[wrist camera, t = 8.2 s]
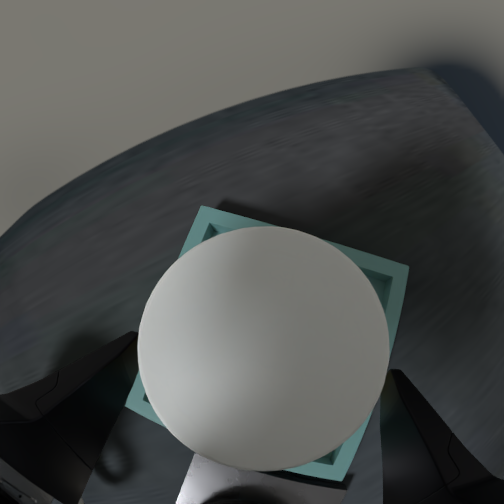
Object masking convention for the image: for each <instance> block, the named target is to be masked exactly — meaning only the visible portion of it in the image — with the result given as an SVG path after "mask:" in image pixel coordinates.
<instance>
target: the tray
mask: <svg viewBox="0 0 504 504" xmlns="http://www.w3.org/2000/svg"><path fill="white" fill-rule="evenodd" d="M263 226H274V227H279V226H275V225H272V224H268V223H265V222H261V221H258V220H254V219H250V218H247V217H243V216H239V215H236V214H232V213H228V212H225V211H221V210H217V209H213V208H209V207H206V206H202V205H201V207H200V210H199V212H198V214H197V216H196V219H195V221H194V223H193V225H192V228H191V230H190V232H189V235H188V237H187V239H186V242H185V244H184V246H183V249H182V251H181V253H180V256H179V258H180V257H181V256H183V255H184V254H185V253H186V252H188V251H189V250H190V249H192V248H193V247H195V246H197V245H198V244H200V243H202V242H204V241H206V240H208V239H210V238H212V237H215V236H217V235H219V234H222V233H226V232H230V231H233V230H237V229H241V228H248V227H263ZM319 239H320V238H319ZM321 240H323V239H321ZM323 241H325V242H327V243H329V244H330V245H332V246H334V247H335V248H337V249H338V250H340V251H341V252H342V253H343V254H345V255H346V256H347V257H348V258H350V259H351V260H352V261H353V262H354V263H355V264H356V265H357V266H358V267H359V268H360V270H361V271H362V272H363V273H364V275H365V276H366V277H367V279H368V280H369V281H370V283H371V285H372V286H373V288H374V290H375V292H376V294H377V296H378V298H379V301H380V303H381V305H382V308H383V310H384V314H385V317H386V321H387V326H388V332H389V348H390V355H391V351H392V347H393V343H394V339H395V335H396V331H397V327H398V323H399V319H400V314H401V309H402V305H403V300H404V294H405V289H406V283H407V278H408V271H409V266H407V265H404V264H401V263H397V262H394V261H391V260H388V259H385V258H382V257H379V256H376V255H372V254H369V253H366V252H363V251H360V250H356V249H353V248H350V247H347V246H343V245H340V244H337V243H333V242H330V241H327V240H323ZM179 258H178V259H179ZM390 355H389V358H390ZM125 406H126V407H128V408H129V409H131V410H133V411H135V412H137V413H138V414H140V415H142V416H144V417H146V418H148V419H150V420H152V421H154V422H156V423H158V424H160V425H162V426H164V427H166V426H165V425H164V424H163V423H162V421H161V420H160V418H159V417H158V416H157V414H156V413H155V411H154V409H153V407H152V405H151V403H150V402H149V399H148V397H147V395H146V392H145V388H144V386H143V383H142V380H141V376H140V371H138V374H137V377H136V379H135V382H134V385H133V387H132V389H131V391H130V393H129V395H128V398H127V402H126V405H125ZM372 411H373V410H372ZM372 411H371V413H372ZM371 413H370V414H369V416H368V417H367V419H366V420H365V421H364V423H363V424H362V425H361V426H360V427H359V429H358V430H357V431H356V432H355V433H354V434H353V435H352V436H351V437H350V438H348V439H347V440H346V441H345V442H344V443H342V444H341V445H340V446H339V447H338V448H336V449H335V450H333V451H331V452H330V453H328V454H326V455H325V456H323V457H321V458H319V459H317V460H314V461H312V462H310V463H307V464H305V465H301V466H298V467H294V468H290V469H284V470H286V471H291V472H295V473H299V474H304V475H309V476H314V477H319V478H325V479H330V480H337V481H342V480H343V478H344V476H345V474H346V472H347V470H348V468H349V466H350V464H351V462H352V459H353V457H354V455H355V453H356V451H357V448H358V446H359V444H360V441H361V439H362V436H363V434H364V432H365V429H366V427H367V424H368V421H369V419H370V416H371Z"/></svg>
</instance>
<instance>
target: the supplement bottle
mask: <svg viewBox="0 0 504 504" xmlns="http://www.w3.org/2000/svg"><path fill="white" fill-rule="evenodd" d="M137 346H138V364H139V371H140V376H141V380H142V383H143V386H144V388H145V392H146V395H147V397H148V399H149V402H150V403H151V405H152V407H153V409H154V411H155V413H156V414H157V416H158V417H159V418H160V420H161V421H162V423H163V424H164V425H165V426H166V428H167V429H168V430H169V431H170V432H171V433H172V434H173V435H174V436H175V437H176V438H177V439H178V440H179V441H180V442H182V443H183V444H184V445H186V446H187V447H188V448H190V449H191V450H193V451H194V452H196V453H197V454H199V455H201V456H203V457H205V458H207V459H209V460H211V461H213V462H216V463H219V464H222V465H225V466H228V467H232V468H236V469H240V470H247V471H277V470H284V469H290V468H294V467H298V466H301V465H305V464H307V463H310V462H312V461H314V460H317V459H319V458H321V457H323V456H325V455H326V454H328V453H330V452H331V451H333V450H335V449H336V448H338V447H339V446H340V445H341V444H342V443H344V442H345V441H346V440H347V439H348V438H350V437H351V436H352V435H353V434H354V433H355V432H356V431H357V430H358V429H359V427H360V426H361V425H362V424H363V423H364V421H365V420H366V419H367V417H368V416H369V414H370V413H371V411H372V410H373V408H374V406H375V404H376V402H377V400H378V398H379V396H380V394H381V391H382V388H383V386H384V383H385V378H386V372H387V368H388V364H389V355H390V348H389V332H388V326H387V321H386V317H385V314H384V310H383V308H382V305H381V303H380V301H379V298H378V296H377V294H376V292H375V290H374V288H373V286H372V285H371V283H370V281H369V280H368V279H367V277H366V276H365V275H364V273H363V272H362V271H361V270H360V268H359V267H358V266H357V265H356V264H355V263H354V262H353V261H352V260H351V259H350V258H348V257H347V256H346V255H345V254H343V253H342V252H341V251H340V250H338V249H337V248H335V247H334V246H332V245H330V244H329V243H327V242H325V241H323V240H321V239H319V238H317V237H315V236H312V235H310V234H307V233H304V232H301V231H298V230H294V229H289V228H284V227H274V226H263V227H248V228H241V229H237V230H233V231H230V232H226V233H222V234H219V235H217V236H215V237H212V238H210V239H208V240H206V241H204V242H202V243H200V244H198V245H197V246H195V247H193V248H192V249H190V250H189V251H188V252H186V253H185V254H184V255H183V256H181V257H180V258H179V259H178V260H177V261H176V262H175V263H174V264H173V265H172V266H171V267H170V268H169V269H168V270H167V271H166V272H165V274H164V275H163V276H162V278H161V279H160V280H159V282H158V283H157V285H156V287H155V288H154V290H153V292H152V294H151V296H150V298H149V300H148V302H147V304H146V307H145V310H144V313H143V316H142V320H141V323H140V328H139V335H138V345H137Z"/></svg>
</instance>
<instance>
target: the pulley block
mask: <svg viewBox="0 0 504 504" xmlns="http://www.w3.org/2000/svg"><path fill="white" fill-rule="evenodd" d="M346 492H347V489H346V487H345V485H343V484H336V483H330V482H324V481H318V480H313V479H308V478H303V477H299V476H294V475H290V474H286V473H282V472H278V471H247V470H240V469H236V468H232V467H228V466H225V465H222V464H219V463H216V462H213V461H211V460H209V459H207V458H205V457H203V456H201V455H199V454H197V453H196V452H195V454H194V457H193V460H192V462H191V465H190V468H189V470H188V473H187V475H186V478H185V481H184V483H183V486H182V488H181V491H180V494H179V496H178V499H177V501H176V504H340V503H341V501H342V500H343V498H344V496H345V494H346Z"/></svg>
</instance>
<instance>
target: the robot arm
mask: <svg viewBox="0 0 504 504" xmlns="http://www.w3.org/2000/svg"><path fill="white" fill-rule="evenodd" d="M138 335H139V333H138V332H134V331H130V332H128V333H126V334H125V335H123V336H121V337H119V338H117V339H116V340H114V341H112V342H110V343H108V344H106V345H105V346H103V347H101V348H99V349H97V350H95V351H94V352H92V353H90V354H88V355H86V356H84V357H83V358H81V359H79V360H77V361H75V362H73V363H72V364H70V365H68V366H66V367H64V368H62V369H60V371H57V372H55V373H53V374H51V375H49V376H47V377H45V378H43V379H41V380H39V381H37V382H34V383H32V384H30V385H27V386H25V387H22V388H20V389H17V390H15V391H12V392H10V393H7V394H2V395H0V504H51V503H52V501H53V499H54V498H55V499H56V500H58V501H60V502H61V503H63V504H78V503H79V500H80V498H81V496H82V493H83V491H84V489H85V487H86V484H87V482H88V480H89V478H90V475H91V473H92V470H93V468H94V466H95V464H96V462H97V460H98V457H99V455H100V453H101V451H102V449H103V447H104V445H105V442H106V440H107V438H108V436H109V434H110V432H111V430H112V428H113V426H114V424H115V422H116V419H117V417H118V415H119V413H120V411H121V409H122V407H123V405H124V403H125V401H126V399H127V397H128V395H129V393H130V391H131V389H132V387H133V385H134V382H135V379H136V377H137V374H138V371H139V364H138V346H137V345H138ZM380 433H381V447H382V466H383V504H504V480H502V479H499V478H497V477H495V476H493V475H492V474H491V473H490V472H489V471H488V470H487V469H486V468H485V467H484V466H483V465H482V464H481V463H480V462H479V461H478V460H477V459H476V458H475V457H474V456H473V455H472V454H471V453H470V452H469V451H468V450H467V449H466V448H465V446H464V445H463V444H462V443H461V442H460V440H459V439H458V438H457V437H456V436H455V434H454V433H452V431H451V429H450V428H449V427H448V426H447V424H446V423H445V422H444V421H443V420H442V418H441V417H440V416H439V415H438V413H437V412H436V411H435V410H434V409H433V407H432V406H431V405H430V404H429V403H428V401H427V400H426V399H425V398H424V397H423V395H422V394H421V393H420V392H419V391H418V389H417V388H416V387H415V386H414V385H413V384H412V382H411V381H410V380H409V379H408V378H407V377H406V375H405V374H404V373H403V372H402V371H401V370H399V369H390V370H389V371H388V373H387V375H386V378H385V383H384V386H383V388H382V391H381V394H380Z"/></svg>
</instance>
